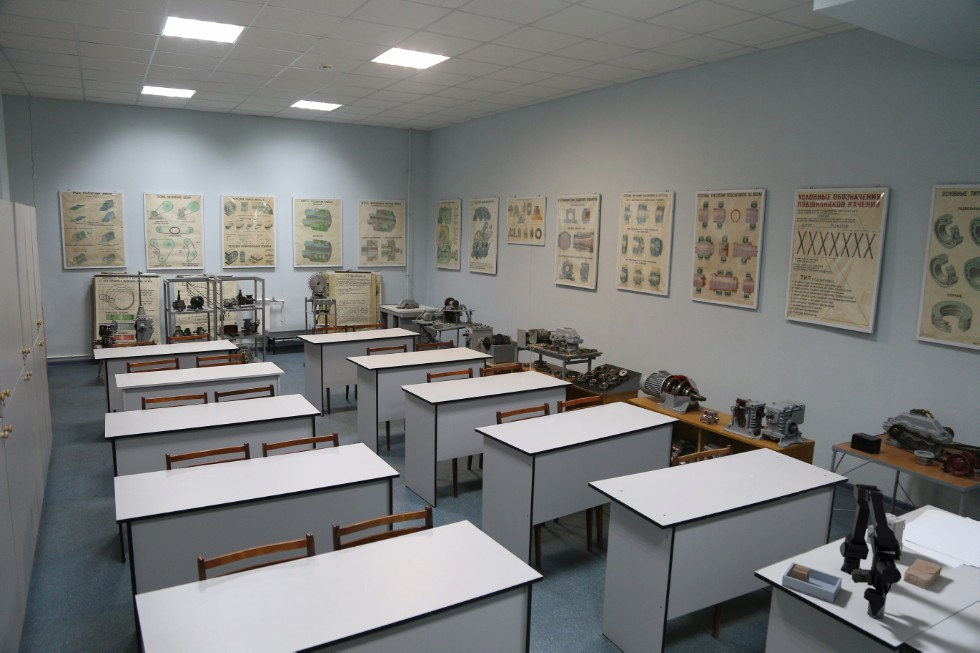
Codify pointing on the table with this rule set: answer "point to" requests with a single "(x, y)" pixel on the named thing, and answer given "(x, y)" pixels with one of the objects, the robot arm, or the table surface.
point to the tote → (814, 583)
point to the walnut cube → (801, 573)
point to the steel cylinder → (879, 615)
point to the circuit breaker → (895, 525)
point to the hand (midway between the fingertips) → (876, 609)
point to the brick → (922, 574)
